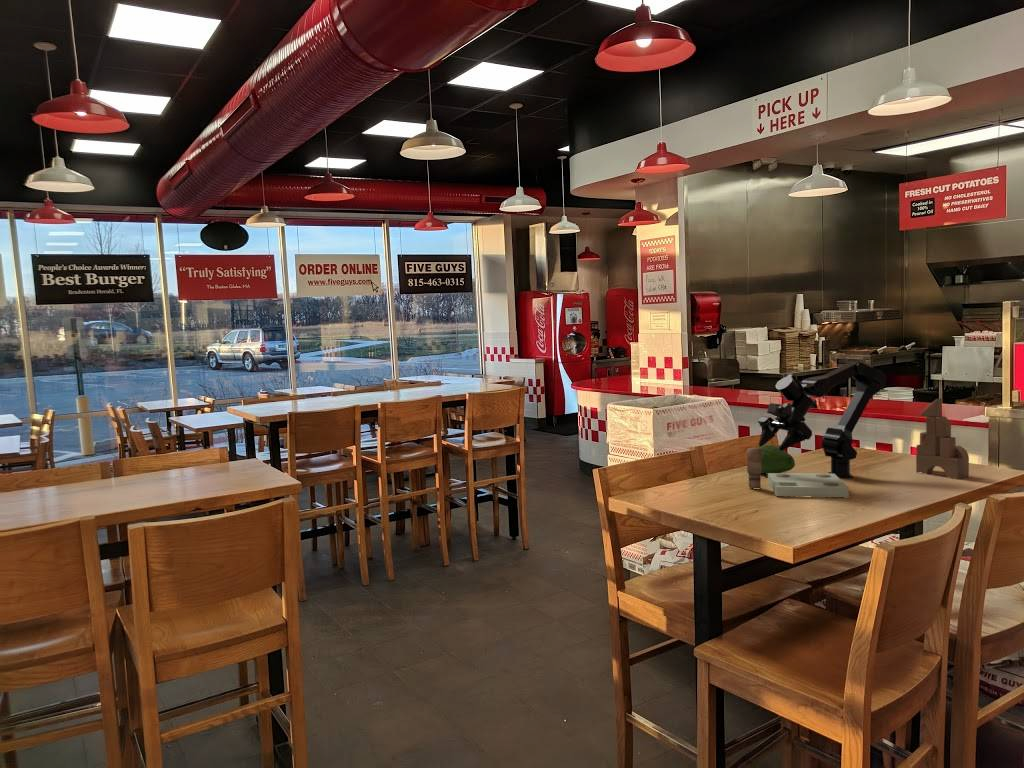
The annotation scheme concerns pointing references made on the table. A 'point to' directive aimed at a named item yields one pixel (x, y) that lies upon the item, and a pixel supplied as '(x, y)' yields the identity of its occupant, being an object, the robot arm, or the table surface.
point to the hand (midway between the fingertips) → (769, 447)
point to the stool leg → (754, 467)
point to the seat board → (807, 485)
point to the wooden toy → (940, 445)
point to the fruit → (775, 460)
